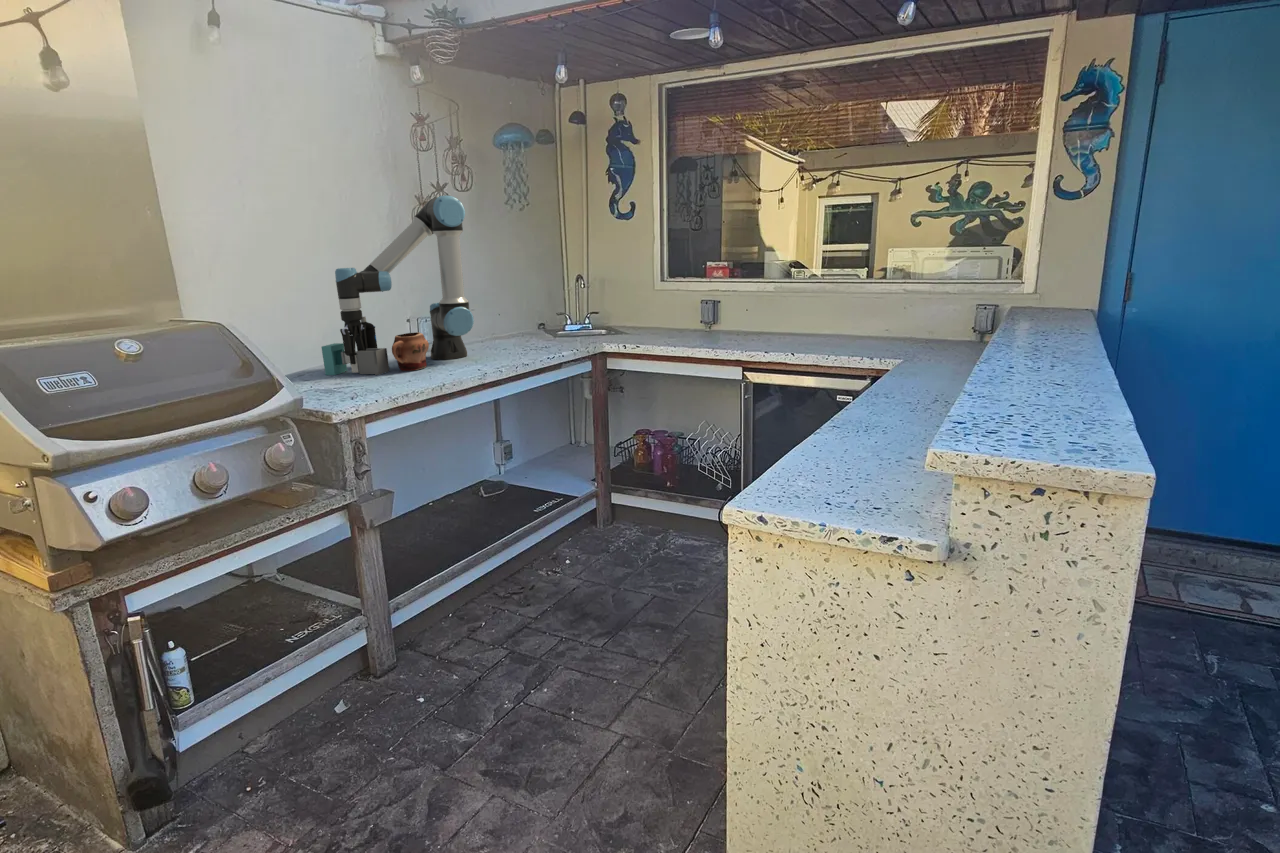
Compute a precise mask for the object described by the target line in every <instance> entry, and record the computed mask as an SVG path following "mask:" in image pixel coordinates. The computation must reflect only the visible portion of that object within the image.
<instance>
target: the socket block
mask: <svg viewBox="0 0 1280 853" xmlns="http://www.w3.org/2000/svg"><path fill="white" fill-rule="evenodd" d="M343 351H345V350H344V344H343V342H340V343H338V342H336V343H335V342H334V343H330V344H326V345H322V346H321V353H322V359H323V365H324V366H323V367H324V374H325V376H336V375H340V374H343V373H346V372H345V371H347V372H348V367H347V366H348V364H345V365H343V363H342V356H341V352H343ZM342 372H343V373H342Z"/></svg>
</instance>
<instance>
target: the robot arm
mask: <svg viewBox="0 0 1280 853" xmlns="http://www.w3.org/2000/svg"><path fill="white" fill-rule="evenodd" d="M465 217H466V210H465V207H464V205H463V203H462V201H460V200H459V199H458V198H457V197H454V196H452V195H446V194H445V195H440V196H436V197H433V198H431V199H429V200H428V201H427V202H426V203H425V204H424V205H423V206H422V207H421V209H420V210H419V211H418V212H417V213H416V214H414V216H413V218H412V219H413V221H412V222H411V223H409V224H408V226H407V227H406V228H404V230H403V231H402V232H401V233H400V234H399V235H398V236H397V237H396V238H395V239H394V240H393V241H392V242H391V243H389V245H387V247H386V248H384V250H383V251H381V253H379V254H378V255H377V256H376V257H375V258H374V260H373V261H371V262H370V263H369V264H368V265H367V267H365V268H364V269H363V270H361V271H359V272H358V271H357V268H355V267H340V268H339V267H338V268H336V269H335V271H334V274H335V284H336V291H337V297H338V298H337V299H338V303H339V305H338V306H339V310H341V311H340V319H341V321H342V322H344V327H343V328H340V329H339V331H340V334H341V337H342V338H341V339H342V343H343V345H344V351H345V354H346V355H347V356H350V363H349V364H350V367H351V373H353V374H355V373H358V374H359V373H360V371H359V364H358V357H357V355H356V351H357V349H358V351H366V349H367V348H368V346H367V337H366V325H362V324H361V320H362V319H363V317H364V316H363V311H362V310H361V308H362V303H361V302H362V301H361V298H360V293H361V294H363V293H376V292H377V293H378V292H380V293H381V292H382V293H383V292H389V291H391V289H392V285H393V284H392V277H391V274H390V273H391V272H392V271H393V270H394V269H395V268H397V267H398V266H399V265H400V264H401V263H402V261H403V260H405V259H406V257H407V256H409V254H411V253H412V251H414V250H415V249H416V247H418V246H419V245H420V244H421V243H422V242H423V241H424V239H425V238H427V237H428V236H429V237H430V236H433V235H435V236H436V239H437V240H436V242H437V252H438V261H439V274H440V275H439V276H440V283H441V284H440V285H441V295H442V296H441V297H442V298H441V300H440V301H439V302H435V303H434V302H433V303H431V304H430V305H429V315H430V321H431V322H430V323H431V332H432V340H433V341H432V344H431V347H430V359H431V360H452V359H461V358H465V357H467V356H468V350H467V348H466V346H465V343H464V341H463V338H462V336H464V335H467V334H468V333H469V332H470V331H471V330H472V329H473V326H474V323H475V320H474V316H473V313H472V312H471V310H470V302H469V300H468V299H467V298H466V296H465V288H464V277H463V266H462V264H463V262H462V254H461V253H462V252H461V241H460V236H461V234H462V233H463V232H464V230H463V228H464V227H463V222H464V219H465Z"/></svg>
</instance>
